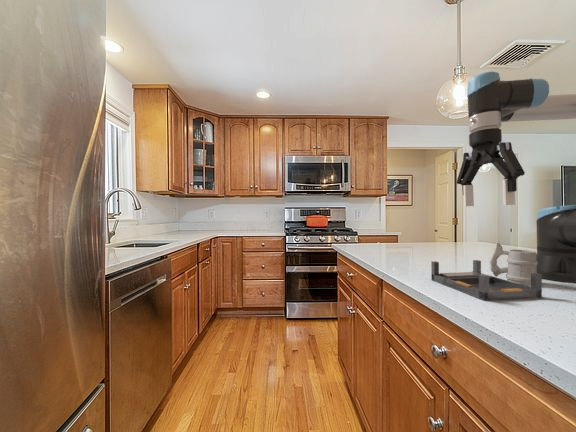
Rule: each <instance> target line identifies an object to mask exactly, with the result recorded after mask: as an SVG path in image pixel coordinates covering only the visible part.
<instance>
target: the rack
mask: <svg viewBox="0 0 576 432" xmlns="http://www.w3.org/2000/svg"><path fill="white" fill-rule="evenodd" d="M430 264H431V265H430V266H431V267H430V268H431V281H433V282H436V283H438V284H440V285H444V286H445V287H448V288H451V289H453V290H456V291H459V292H461V293H463V294H466V295H469V296H471V297H474V298H476V299H478V300H481V301H483V302H484V301H499V300H500V301H502V300H506V301H507V300H523V299H542V297H543V291H542V288H543V285H542V284H543V278H542V274H538V273H531V286H525V285H522V284H518V283H515V282H511V281H507V280H506V279H504V278H500V277H496V276H492V275H489V274H486V273H482V260H478V259H473V260H472V271H466V272H465V271H464V272H463V271H462V272H460V271H459V272H440V265H439V264H440V261H435V260H434V261H431V263H430Z"/></svg>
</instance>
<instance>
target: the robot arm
mask: <svg viewBox="0 0 576 432" xmlns="http://www.w3.org/2000/svg"><path fill="white" fill-rule="evenodd" d="M466 91H467V93H466V97H467V111H468V112H467V113H468V132H469V134H468V141H469V142H468V144H469V145H468V146H469V147H470V148H472V151H471V152H464V153H463V156H462V157H463V159H462V163H461V167H460V170H459V173H458V177H457V179H456V184H457V185H460V186H462V197H463V207H474V206H475V204H474V203H475V201H474V200H475V199H474V185H473V183H472V182H473V180H474V179H475V177H476V175H477V174H478V172H479V170H480V169H481V167H483V166H484V165H488V164H492V165H493V166H494V167H495V168H496V169H497V171H498V172H499V173H500V174H501V175H502V176H503V177H504V178H503V180H502V201H503V202H502V204H503V206H511V205H512V206H513V205H516V192H517V189H518V188H517V185H518V183H517V179H518V178H519V177H522V176H524V175H525V173H526V172H525V170H524V168H523V166H522V165H521V163H520V162H519V159H518V158H517V156H516V154H515V152H514V151H513V147H512V146H513V145H512V142H509V141H508V142H507V141H504V142H503V141H502V140H503V139H502V135H503V134H502V129H501V127H502V123H506V122H507V123H508V122H526V121H527V122H529V121H530V122H531V121H532V122H533V121H534V122H535V121H556V120H557V121H558V120H576V93H570V94H554V95H553V94H549V93H550V85H549V82H548V80H545V79H543V78H533V77H532V78H529V79H528V78H527V79H526V78H525V79H516V80H501V77H500V73H499V72H497V71H486V72H483V73H480V74H479V73H478V74H476V75H475V76H473V77H472V78H471V79H470V80H469V81H468V83H467V90H466ZM535 222H536V261H537V262H538V264H537V265H536V267H537V273H538V274H542V280H543V279H544V280H550V281H555V282H557V281H558V282H564V283H576V204H575V205H574V204H572V205H571V204H570V205H560V206H559V205H558V206H549V207H545V208H544V207H543V208H540V209H539V210H538V211H537V215H536V219H535Z"/></svg>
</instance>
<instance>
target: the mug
mask: <svg viewBox="0 0 576 432" xmlns="http://www.w3.org/2000/svg"><path fill="white" fill-rule="evenodd" d="M503 249H504V248H503V246H502V245H501V244H500V242H496V243H495V249H494V251H493V253H492V255H491V257H490V260H489V265H490V266H489V267H490V271H491V273H492V274H493V275H494V276H493V277H496V278H498V276H500V275H501V274H505V278H506V279H507V281H511V282H515V283H518V284H522V285H525V286H529V287H531V273H537V267H536V265H537V264H538V262H537V261H536V253H537V251H535V250H527V249H509V250H503ZM502 255H505V256H506V255H507V256H508V258H507V259H506V262H507V267H501V268H500V266H499V265H498V258H500V257H501V256H502Z"/></svg>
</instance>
